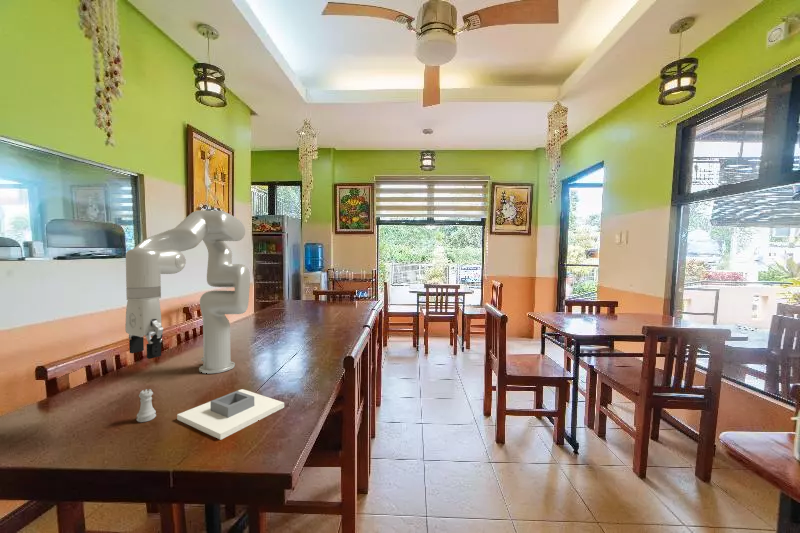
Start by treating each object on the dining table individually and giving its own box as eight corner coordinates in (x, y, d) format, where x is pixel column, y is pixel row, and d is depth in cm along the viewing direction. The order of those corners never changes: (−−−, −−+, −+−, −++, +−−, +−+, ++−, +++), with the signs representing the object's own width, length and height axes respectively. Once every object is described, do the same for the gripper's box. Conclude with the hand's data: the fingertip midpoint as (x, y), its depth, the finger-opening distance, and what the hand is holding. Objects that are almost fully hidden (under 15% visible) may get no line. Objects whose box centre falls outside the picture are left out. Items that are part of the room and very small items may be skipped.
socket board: (177, 419, 91) (177, 404, 91) (242, 393, 109) (242, 380, 108) (220, 439, 81) (220, 423, 81) (284, 407, 99) (284, 393, 99)
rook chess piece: (160, 416, 93) (159, 388, 93) (143, 424, 89) (142, 395, 88) (149, 413, 94) (148, 386, 94) (132, 421, 90) (131, 392, 90)
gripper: (113, 293, 91) (114, 353, 92) (143, 297, 83) (144, 363, 83) (144, 290, 98) (145, 347, 98) (175, 294, 89) (176, 355, 90)
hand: (145, 354), depth 91 cm, fingers open, 9 cm apart
